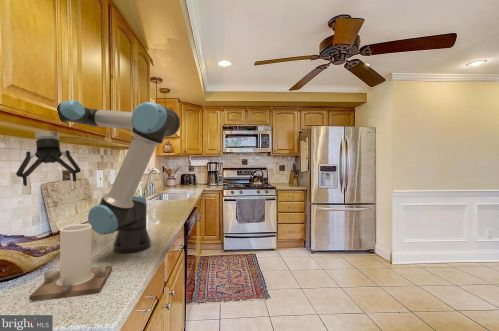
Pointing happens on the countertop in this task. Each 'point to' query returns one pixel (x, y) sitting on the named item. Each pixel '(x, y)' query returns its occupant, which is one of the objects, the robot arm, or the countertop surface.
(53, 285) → the locator plate
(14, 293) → the countertop surface
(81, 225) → the cup
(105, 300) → the countertop surface
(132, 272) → the countertop surface
